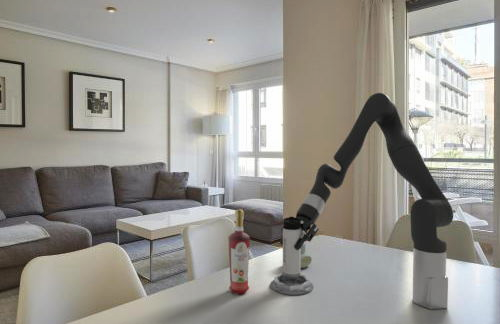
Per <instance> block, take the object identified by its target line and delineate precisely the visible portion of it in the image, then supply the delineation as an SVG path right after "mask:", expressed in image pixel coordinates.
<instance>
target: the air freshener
mask: <svg viewBox="0 0 500 324" xmlns="http://www.w3.org/2000/svg"><path fill="white" fill-rule="evenodd" d="M312 260H313V259H312V256H311V255H310V254H309V252H306V242H304V243H303V245H302V247H301V269H305V268H307V267H309V265H311V264H312Z"/></svg>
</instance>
